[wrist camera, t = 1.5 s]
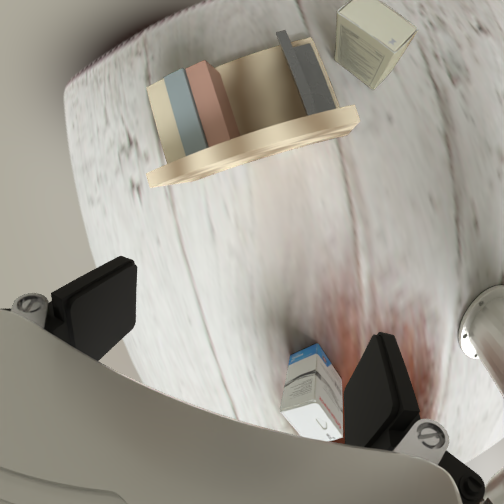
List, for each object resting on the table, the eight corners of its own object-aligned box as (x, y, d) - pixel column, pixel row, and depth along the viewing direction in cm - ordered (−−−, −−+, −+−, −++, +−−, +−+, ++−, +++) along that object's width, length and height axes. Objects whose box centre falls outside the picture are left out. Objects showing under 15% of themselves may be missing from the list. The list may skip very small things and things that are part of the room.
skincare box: (392, 70, 27) (423, 31, 15) (372, 91, 28) (397, 56, 17) (351, 38, 26) (363, -13, 15) (331, 58, 28) (335, 10, 17)
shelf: (311, 41, 28) (308, -1, 18) (347, 135, 31) (360, 121, 21) (167, 93, 33) (121, 76, 24) (193, 181, 36) (150, 188, 26)
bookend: (310, 44, 27) (308, 24, 22) (339, 118, 29) (343, 108, 24) (282, 51, 28) (275, 32, 23) (309, 125, 30) (308, 117, 25)
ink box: (288, 354, 40) (276, 411, 29) (318, 341, 39) (315, 399, 28) (314, 391, 41) (309, 448, 30) (342, 380, 40) (344, 438, 29)
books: (219, 72, 30) (203, 58, 25) (243, 145, 32) (229, 141, 27) (167, 95, 32) (145, 87, 27) (187, 165, 34) (166, 166, 29)
